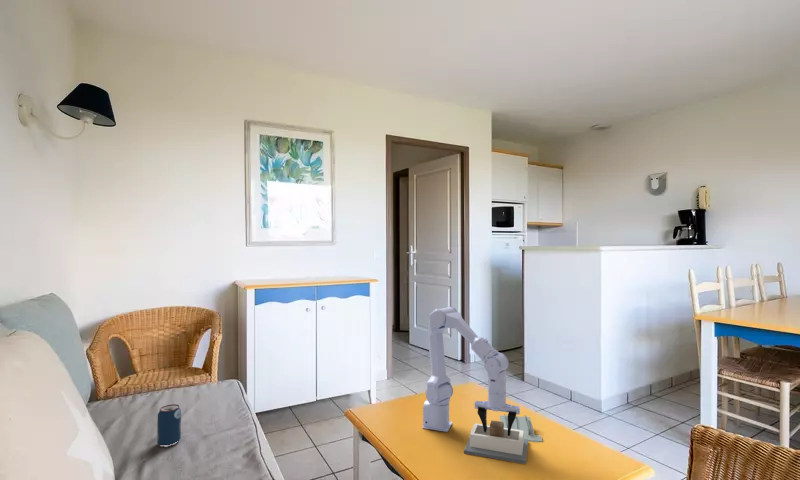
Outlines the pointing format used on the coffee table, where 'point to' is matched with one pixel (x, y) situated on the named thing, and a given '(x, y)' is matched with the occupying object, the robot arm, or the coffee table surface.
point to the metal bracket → (522, 427)
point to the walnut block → (497, 429)
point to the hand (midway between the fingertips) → (497, 432)
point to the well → (497, 444)
